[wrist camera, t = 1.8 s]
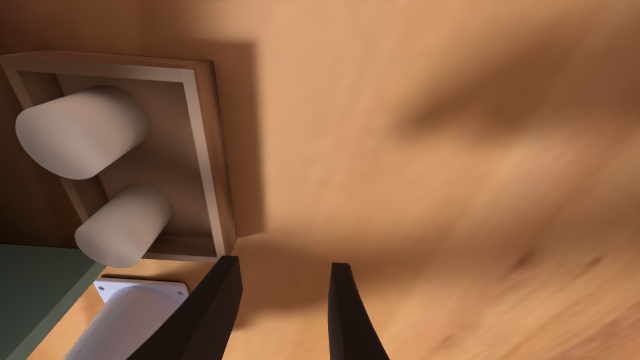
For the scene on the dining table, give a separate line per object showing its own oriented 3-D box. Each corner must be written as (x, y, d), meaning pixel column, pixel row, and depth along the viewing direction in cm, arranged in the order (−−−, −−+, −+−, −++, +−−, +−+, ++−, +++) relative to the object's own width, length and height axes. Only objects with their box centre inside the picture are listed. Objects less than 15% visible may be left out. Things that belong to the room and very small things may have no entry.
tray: (236, 238, 22) (226, 263, 19) (121, 231, 22) (99, 255, 19) (213, 61, 15) (193, 69, 13) (44, 49, 15) (-4, 55, 13)
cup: (178, 226, 20) (147, 269, 17) (129, 222, 20) (89, 265, 17) (167, 185, 18) (130, 225, 15) (113, 181, 18) (63, 220, 15)
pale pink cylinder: (156, 147, 17) (113, 181, 14) (97, 143, 17) (38, 176, 13) (139, 87, 15) (84, 109, 12) (73, 82, 15) (-2, 104, 12)
